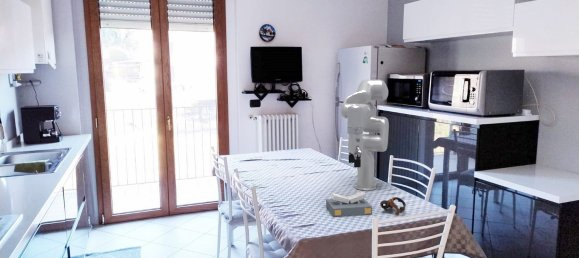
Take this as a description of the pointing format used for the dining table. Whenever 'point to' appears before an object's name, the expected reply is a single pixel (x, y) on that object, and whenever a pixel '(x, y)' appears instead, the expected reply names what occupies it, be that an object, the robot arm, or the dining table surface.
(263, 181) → the dining table surface
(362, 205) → the switch unit
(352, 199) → the rocker
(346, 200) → the rocker
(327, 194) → the dining table surface
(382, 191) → the dining table surface
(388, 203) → the brown looped piece
